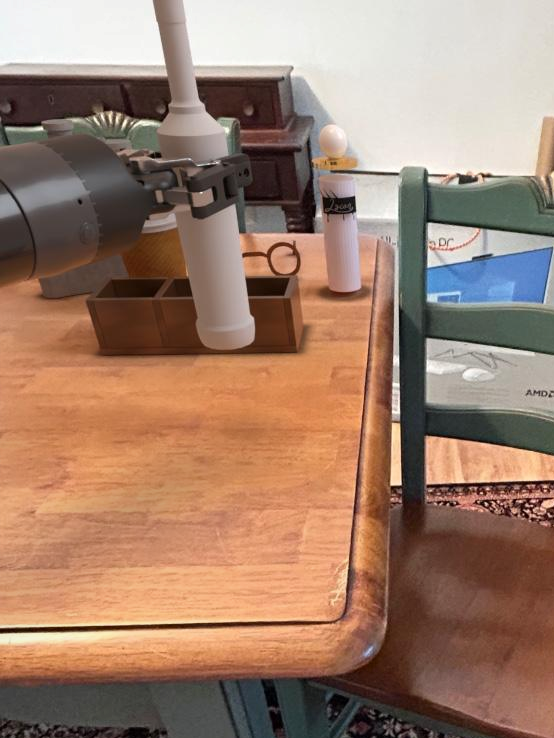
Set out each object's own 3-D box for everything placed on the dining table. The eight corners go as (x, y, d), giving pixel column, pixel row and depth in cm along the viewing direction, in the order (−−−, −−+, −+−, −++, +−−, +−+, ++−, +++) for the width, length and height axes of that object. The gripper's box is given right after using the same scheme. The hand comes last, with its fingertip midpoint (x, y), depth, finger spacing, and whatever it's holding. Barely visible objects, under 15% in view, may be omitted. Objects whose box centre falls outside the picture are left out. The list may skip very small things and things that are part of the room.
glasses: (210, 285, 105) (202, 248, 102) (211, 258, 114) (205, 223, 111) (303, 279, 107) (298, 243, 104) (297, 253, 117) (292, 219, 113)
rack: (102, 355, 86) (85, 300, 82) (121, 329, 92) (106, 277, 88) (297, 352, 87) (290, 298, 83) (303, 327, 93) (297, 275, 89)
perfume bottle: (323, 286, 105) (306, 121, 92) (363, 284, 106) (352, 120, 93) (326, 300, 101) (309, 128, 87) (368, 297, 101) (357, 127, 88)
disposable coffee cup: (204, 290, 103) (184, 195, 95) (198, 314, 96) (177, 213, 88) (133, 294, 102) (108, 197, 94) (122, 318, 95) (93, 216, 87)
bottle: (189, 338, 68) (113, -14, 52) (238, 325, 71) (181, -13, 54) (217, 355, 65) (147, -11, 49) (267, 341, 68) (217, -11, 51)
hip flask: (44, 299, 100) (-16, 126, 87) (43, 290, 103) (-15, 121, 90) (165, 285, 105) (125, 119, 92) (161, 276, 108) (122, 114, 94)
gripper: (115, 155, 44) (284, 118, 56) (-45, 132, 49) (142, 102, 61) (146, 284, 49) (296, 225, 61) (-2, 251, 54) (163, 203, 65)
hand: (218, 164), depth 61 cm, fingers closed on bottle, 5 cm apart
